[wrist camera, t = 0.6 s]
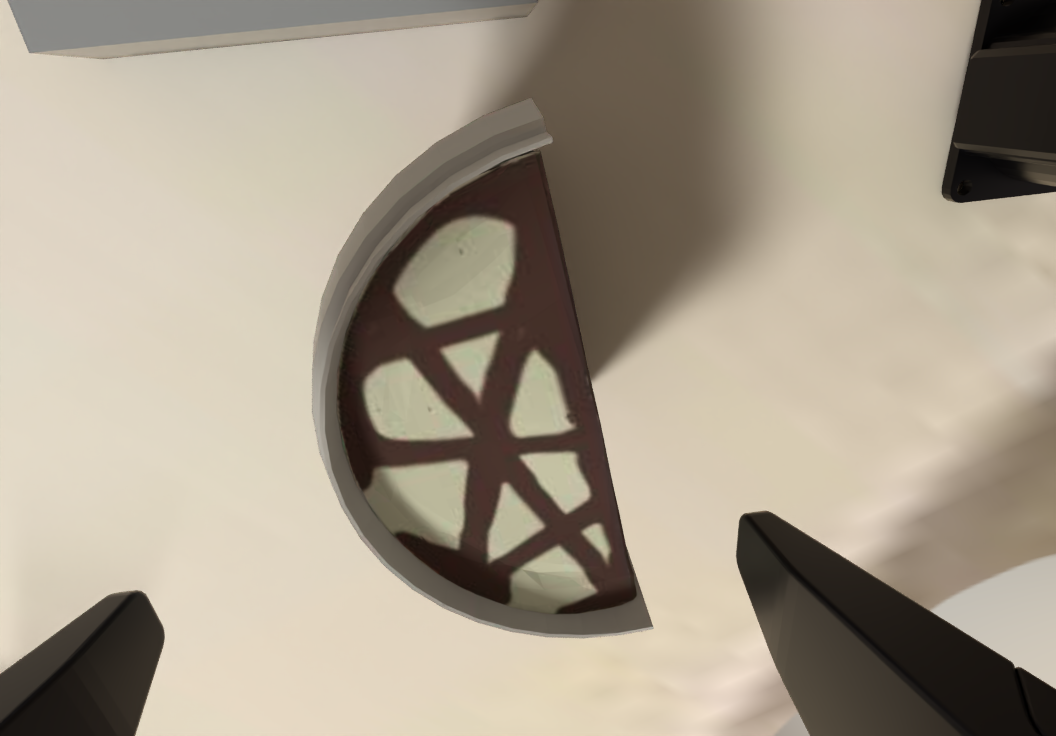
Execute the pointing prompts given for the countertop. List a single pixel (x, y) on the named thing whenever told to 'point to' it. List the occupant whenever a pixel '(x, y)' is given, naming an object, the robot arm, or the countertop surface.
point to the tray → (228, 22)
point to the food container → (472, 394)
